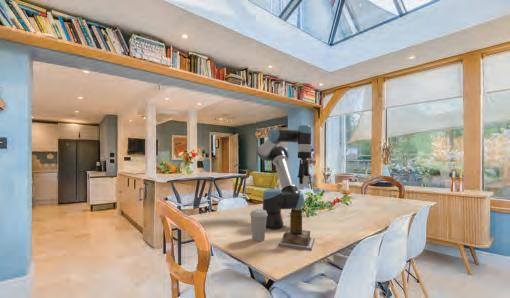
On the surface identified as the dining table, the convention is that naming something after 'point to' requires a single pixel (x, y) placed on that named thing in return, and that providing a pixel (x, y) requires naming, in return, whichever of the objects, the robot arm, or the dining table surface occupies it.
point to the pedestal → (296, 238)
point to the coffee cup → (258, 224)
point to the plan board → (298, 245)
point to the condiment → (296, 222)
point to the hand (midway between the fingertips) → (303, 188)
